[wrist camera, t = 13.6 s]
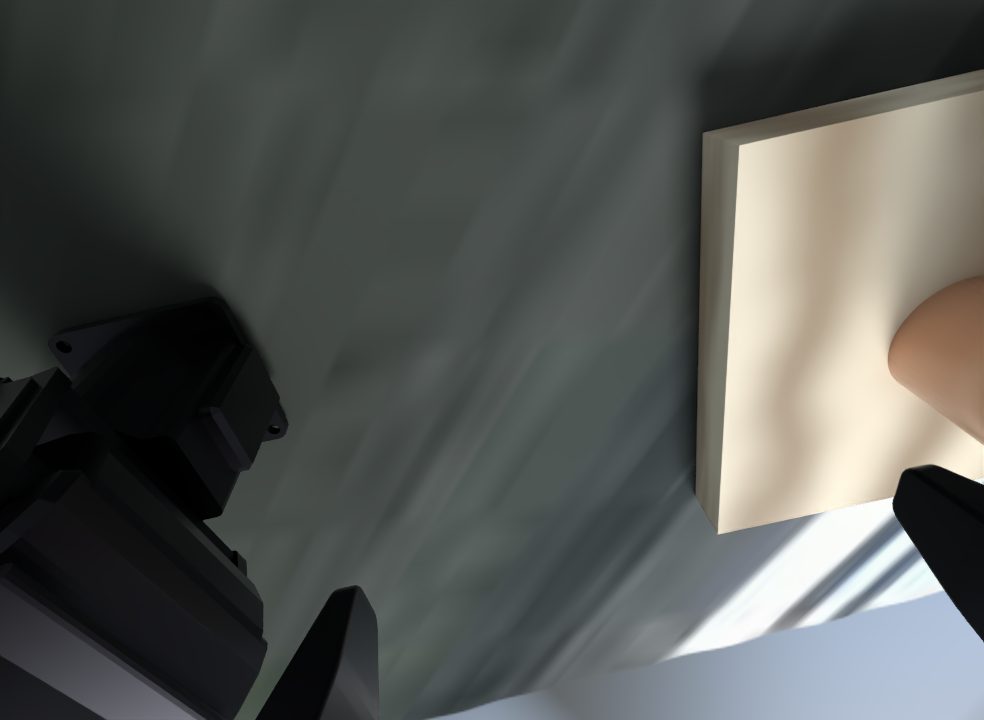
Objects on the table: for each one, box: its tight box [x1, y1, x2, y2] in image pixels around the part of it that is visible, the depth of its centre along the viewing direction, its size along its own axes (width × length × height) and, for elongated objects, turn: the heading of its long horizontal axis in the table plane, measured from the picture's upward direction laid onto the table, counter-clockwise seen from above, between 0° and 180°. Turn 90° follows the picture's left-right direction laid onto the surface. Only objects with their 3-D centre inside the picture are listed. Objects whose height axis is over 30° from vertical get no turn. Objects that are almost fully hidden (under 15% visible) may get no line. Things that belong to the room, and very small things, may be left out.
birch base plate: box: [696, 69, 984, 534], centre depth 21 cm, size 18×18×2 cm
